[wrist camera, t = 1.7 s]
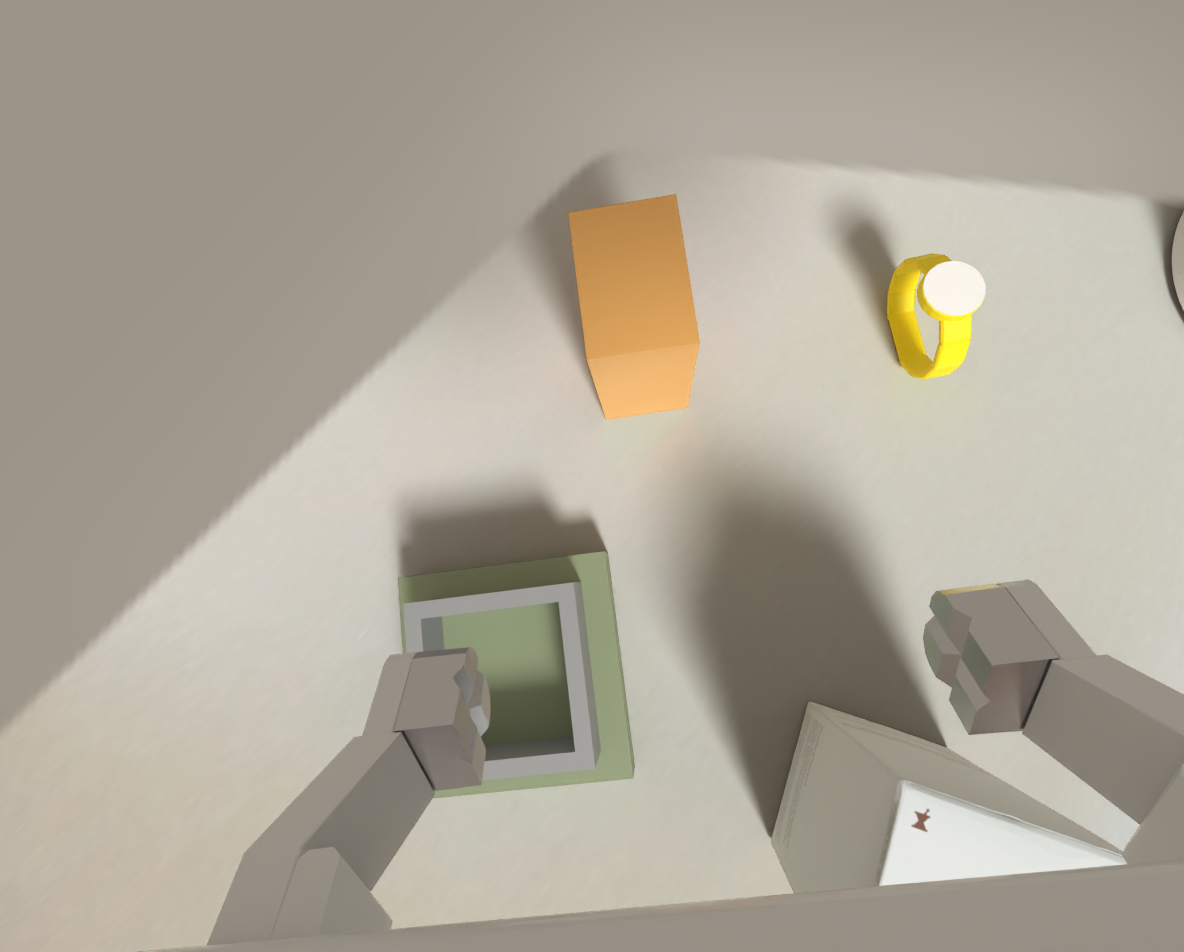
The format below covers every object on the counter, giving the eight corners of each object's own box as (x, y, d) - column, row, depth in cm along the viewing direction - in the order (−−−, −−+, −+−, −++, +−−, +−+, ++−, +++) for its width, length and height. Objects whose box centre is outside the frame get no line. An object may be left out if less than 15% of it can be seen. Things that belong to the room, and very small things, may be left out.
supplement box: (765, 843, 32) (836, 1016, 19) (806, 696, 32) (900, 770, 20) (917, 902, 30) (1096, 1126, 18) (955, 748, 31) (1152, 861, 19)
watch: (865, 297, 36) (903, 234, 30) (915, 287, 35) (964, 221, 30) (895, 396, 34) (941, 349, 28) (948, 385, 34) (1005, 337, 28)
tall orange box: (687, 407, 35) (699, 342, 26) (605, 419, 36) (586, 359, 26) (670, 297, 36) (676, 194, 27) (591, 310, 37) (568, 212, 27)
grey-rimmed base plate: (607, 552, 34) (599, 548, 30) (634, 766, 33) (630, 799, 28) (412, 577, 35) (372, 577, 30) (427, 787, 34) (388, 823, 29)
